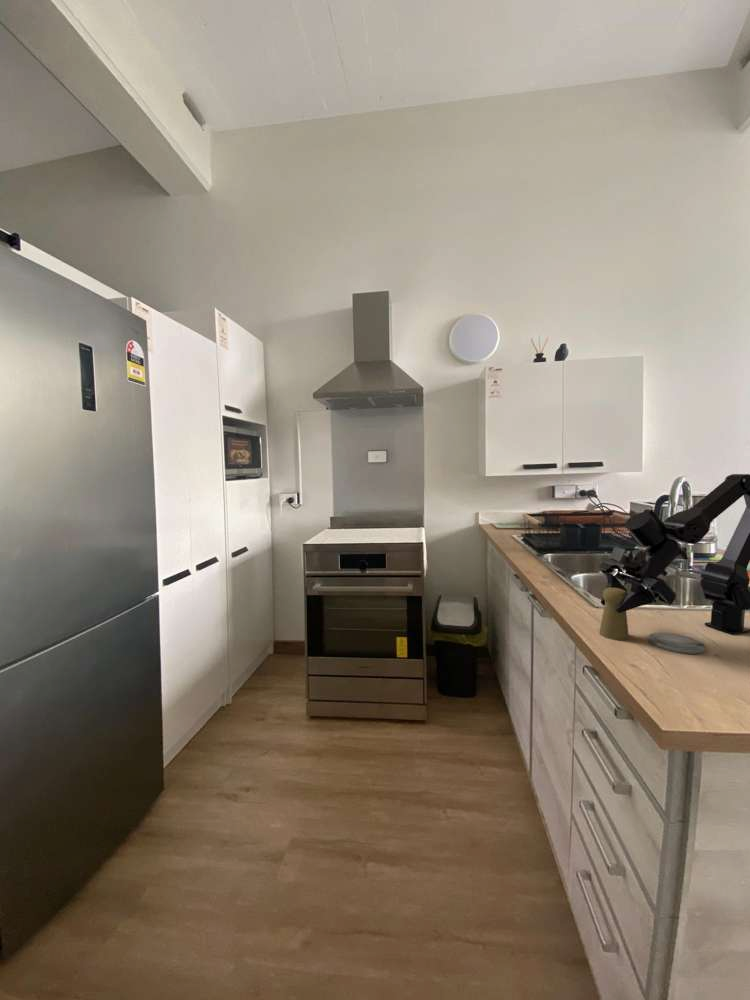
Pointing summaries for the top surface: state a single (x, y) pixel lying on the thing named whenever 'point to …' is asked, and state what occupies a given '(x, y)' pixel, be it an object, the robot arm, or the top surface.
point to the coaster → (677, 643)
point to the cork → (614, 615)
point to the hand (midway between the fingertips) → (609, 607)
